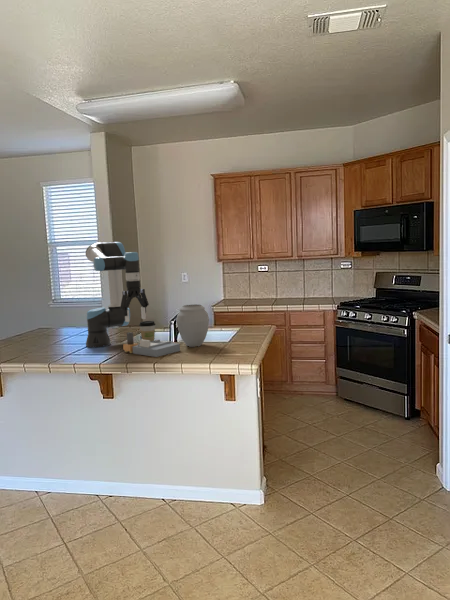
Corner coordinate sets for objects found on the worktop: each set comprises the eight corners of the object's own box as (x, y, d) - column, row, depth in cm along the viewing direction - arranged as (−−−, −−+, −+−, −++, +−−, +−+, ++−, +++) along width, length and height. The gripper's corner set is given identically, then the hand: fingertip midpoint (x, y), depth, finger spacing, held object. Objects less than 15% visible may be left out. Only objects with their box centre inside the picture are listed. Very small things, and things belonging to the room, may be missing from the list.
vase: (172, 348, 271) (169, 307, 269) (186, 342, 289) (184, 303, 287) (202, 349, 264) (200, 307, 262) (215, 343, 282) (213, 303, 280)
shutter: (139, 346, 262) (139, 339, 262) (150, 343, 268) (149, 337, 268) (149, 347, 257) (148, 340, 257) (159, 345, 263) (159, 338, 263)
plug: (123, 352, 267) (122, 333, 266) (131, 350, 272) (130, 331, 271) (130, 353, 264) (129, 334, 262) (138, 351, 268) (137, 332, 267)
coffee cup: (153, 347, 276) (151, 323, 275) (138, 348, 278) (136, 323, 277) (159, 344, 286) (157, 320, 284) (144, 344, 288) (142, 320, 286)
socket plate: (132, 353, 264) (132, 344, 263) (156, 347, 278) (155, 339, 277) (156, 357, 251) (155, 348, 250) (179, 350, 265) (179, 342, 264)
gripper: (120, 282, 241) (123, 323, 243) (153, 278, 259) (156, 317, 261) (111, 282, 246) (114, 322, 248) (144, 278, 263) (147, 317, 266)
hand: (135, 320), depth 254 cm, fingers open, 11 cm apart
